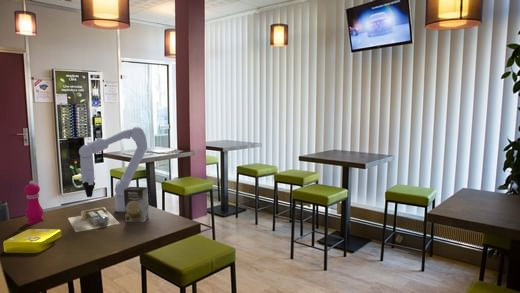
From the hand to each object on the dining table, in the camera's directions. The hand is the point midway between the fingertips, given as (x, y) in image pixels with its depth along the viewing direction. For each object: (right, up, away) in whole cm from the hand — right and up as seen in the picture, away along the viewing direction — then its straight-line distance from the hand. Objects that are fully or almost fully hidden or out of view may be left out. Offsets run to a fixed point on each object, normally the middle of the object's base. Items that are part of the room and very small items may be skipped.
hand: (89, 196), depth 180 cm
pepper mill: (-21, -11, -9) cm, 26 cm away
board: (+7, -11, -11) cm, 17 cm away
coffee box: (+27, -11, -10) cm, 31 cm away
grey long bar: (+11, -9, -12) cm, 19 cm away
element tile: (-5, -15, -36) cm, 39 cm away
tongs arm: (+8, -9, -12) cm, 17 cm away
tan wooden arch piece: (+5, -9, -7) cm, 12 cm away
